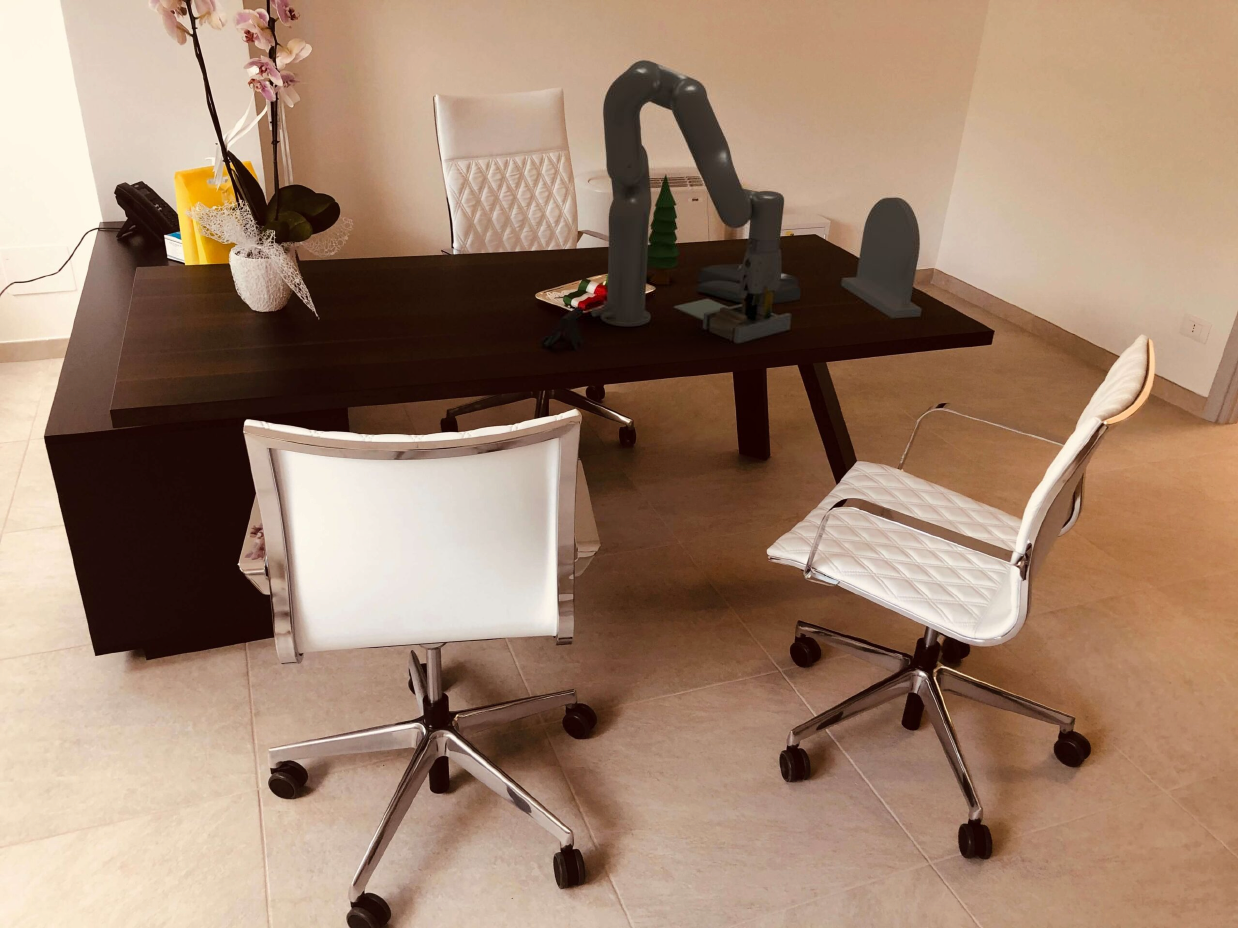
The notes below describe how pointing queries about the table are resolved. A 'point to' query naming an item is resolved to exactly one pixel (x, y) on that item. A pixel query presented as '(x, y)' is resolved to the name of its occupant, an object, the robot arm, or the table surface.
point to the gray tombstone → (888, 259)
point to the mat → (699, 307)
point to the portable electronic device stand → (568, 325)
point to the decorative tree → (663, 236)
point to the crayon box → (761, 305)
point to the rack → (753, 325)
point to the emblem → (727, 284)
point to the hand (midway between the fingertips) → (755, 316)
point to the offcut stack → (726, 322)
